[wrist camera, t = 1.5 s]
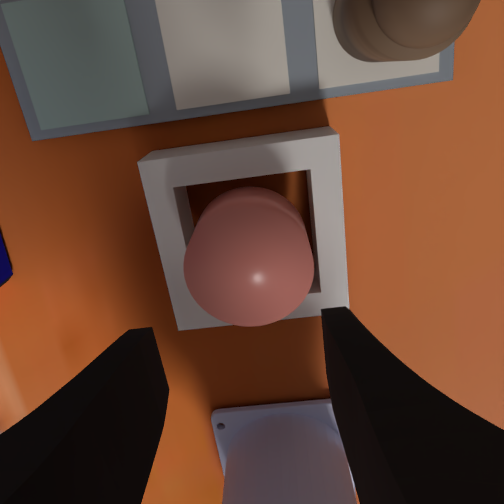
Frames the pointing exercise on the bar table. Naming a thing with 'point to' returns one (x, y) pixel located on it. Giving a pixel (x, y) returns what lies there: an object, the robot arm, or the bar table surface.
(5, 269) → the puzzle cube
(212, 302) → the button
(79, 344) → the bar table surface
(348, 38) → the pawn
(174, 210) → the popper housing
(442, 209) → the bar table surface
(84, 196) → the bar table surface
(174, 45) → the board
